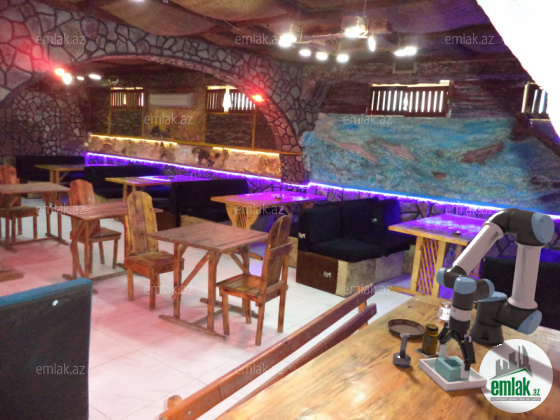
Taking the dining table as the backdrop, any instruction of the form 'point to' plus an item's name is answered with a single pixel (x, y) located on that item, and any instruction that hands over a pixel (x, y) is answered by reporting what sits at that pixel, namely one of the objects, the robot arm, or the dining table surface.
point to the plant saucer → (406, 327)
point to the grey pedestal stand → (402, 353)
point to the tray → (473, 382)
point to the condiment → (429, 341)
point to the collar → (450, 368)
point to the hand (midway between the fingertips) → (452, 368)
